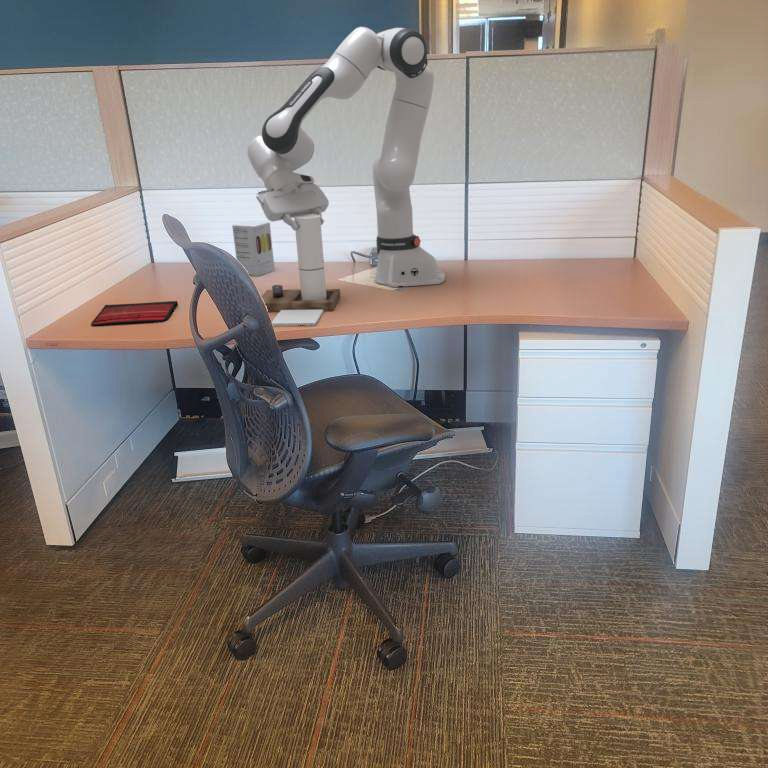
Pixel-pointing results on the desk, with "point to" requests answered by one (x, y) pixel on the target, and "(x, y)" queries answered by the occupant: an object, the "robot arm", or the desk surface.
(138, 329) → the desk surface
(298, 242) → the cylindrical container
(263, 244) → the supplement box
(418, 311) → the desk surface
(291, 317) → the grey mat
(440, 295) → the desk surface
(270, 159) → the robot arm
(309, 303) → the walnut board
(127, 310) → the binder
